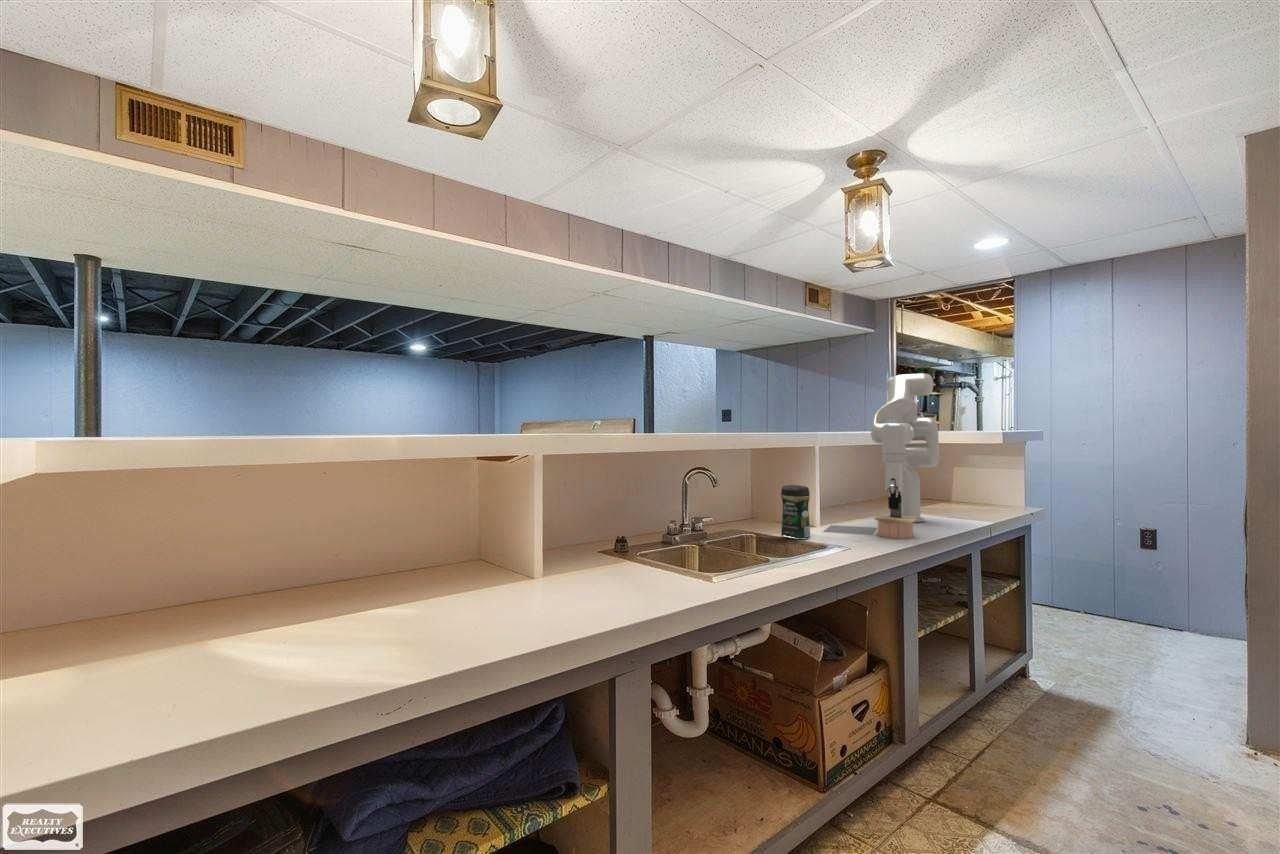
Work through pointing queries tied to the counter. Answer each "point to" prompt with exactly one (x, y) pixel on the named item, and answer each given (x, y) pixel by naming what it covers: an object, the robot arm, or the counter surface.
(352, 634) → the counter surface
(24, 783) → the counter surface
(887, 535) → the terracotta bowl
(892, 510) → the oak lid
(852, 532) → the rubber mat
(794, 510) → the coffee jar
